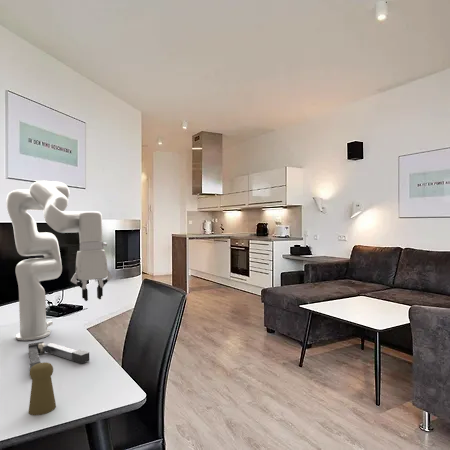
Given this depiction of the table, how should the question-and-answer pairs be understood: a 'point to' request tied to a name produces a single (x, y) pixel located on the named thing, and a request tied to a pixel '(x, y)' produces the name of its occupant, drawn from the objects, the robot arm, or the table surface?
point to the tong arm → (64, 352)
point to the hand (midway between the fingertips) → (92, 298)
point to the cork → (41, 389)
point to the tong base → (34, 353)
